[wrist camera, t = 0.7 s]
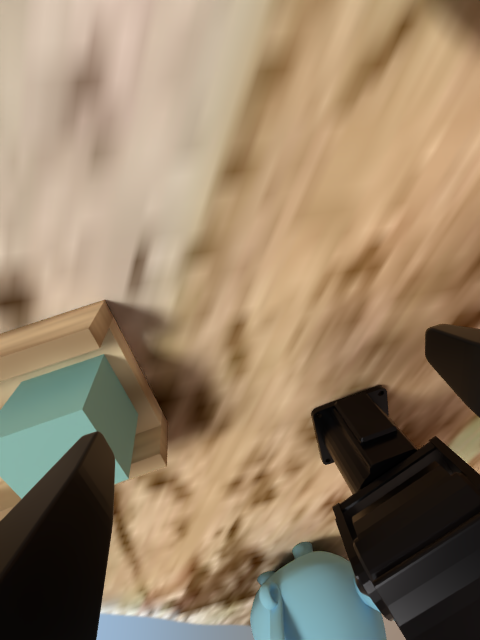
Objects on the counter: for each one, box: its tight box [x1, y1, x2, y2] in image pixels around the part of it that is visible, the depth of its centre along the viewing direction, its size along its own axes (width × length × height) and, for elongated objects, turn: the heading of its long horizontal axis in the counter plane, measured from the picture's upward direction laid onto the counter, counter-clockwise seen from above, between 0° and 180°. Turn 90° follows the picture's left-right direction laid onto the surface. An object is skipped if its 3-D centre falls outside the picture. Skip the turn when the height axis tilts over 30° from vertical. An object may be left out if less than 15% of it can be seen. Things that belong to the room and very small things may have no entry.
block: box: [0, 354, 138, 499], centre depth 17 cm, size 5×5×5 cm
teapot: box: [250, 542, 395, 640], centre depth 30 cm, size 15×14×11 cm
